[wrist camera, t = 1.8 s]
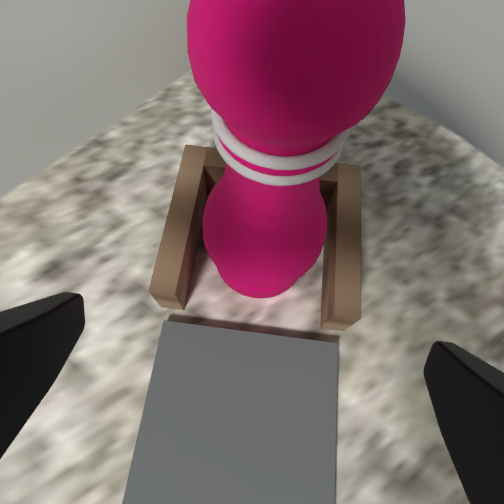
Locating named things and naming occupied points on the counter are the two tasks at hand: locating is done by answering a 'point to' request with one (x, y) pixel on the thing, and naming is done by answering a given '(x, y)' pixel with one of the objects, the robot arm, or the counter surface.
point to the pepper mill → (283, 121)
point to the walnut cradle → (335, 245)
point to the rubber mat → (237, 420)
